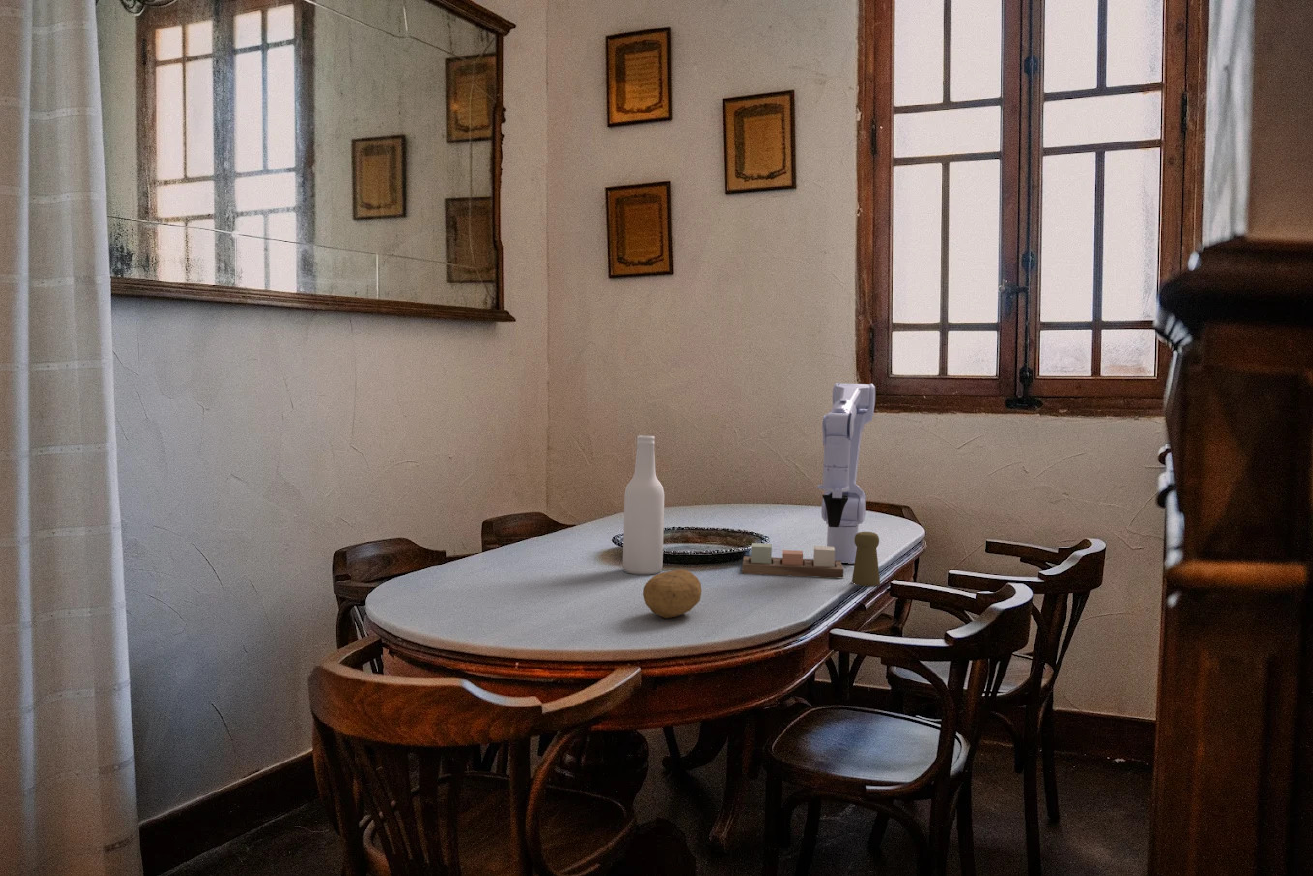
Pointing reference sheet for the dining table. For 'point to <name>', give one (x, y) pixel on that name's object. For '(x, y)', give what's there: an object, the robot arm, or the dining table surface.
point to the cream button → (824, 556)
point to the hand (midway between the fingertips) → (833, 526)
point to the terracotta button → (792, 557)
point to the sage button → (761, 553)
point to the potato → (672, 593)
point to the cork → (866, 560)
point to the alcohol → (643, 514)
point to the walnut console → (792, 568)
